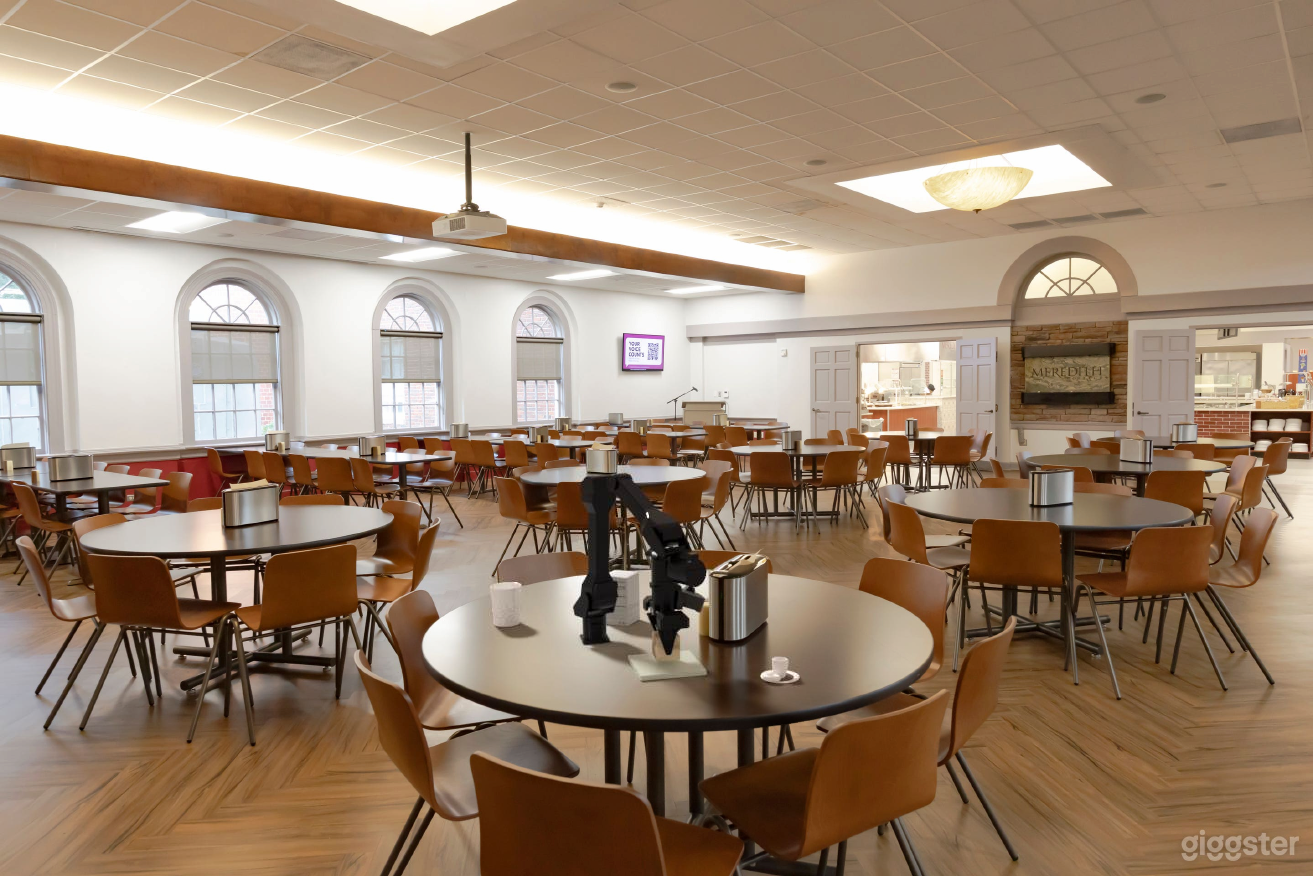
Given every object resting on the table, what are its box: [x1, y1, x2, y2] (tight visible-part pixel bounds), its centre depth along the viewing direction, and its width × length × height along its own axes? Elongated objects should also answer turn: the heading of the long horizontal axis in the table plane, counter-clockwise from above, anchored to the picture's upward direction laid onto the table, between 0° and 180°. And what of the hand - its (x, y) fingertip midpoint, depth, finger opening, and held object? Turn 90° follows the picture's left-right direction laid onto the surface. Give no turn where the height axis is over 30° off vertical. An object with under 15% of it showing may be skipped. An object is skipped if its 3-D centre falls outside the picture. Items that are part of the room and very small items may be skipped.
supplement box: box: [606, 569, 641, 627], centre depth 213 cm, size 7×7×13 cm
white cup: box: [490, 581, 522, 628], centre depth 213 cm, size 8×8×10 cm
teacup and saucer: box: [760, 656, 800, 684], centre depth 170 cm, size 9×8×4 cm
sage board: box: [627, 649, 707, 682], centre depth 177 cm, size 14×14×1 cm
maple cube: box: [651, 630, 681, 661], centre depth 177 cm, size 5×5×5 cm
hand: (665, 651), depth 177 cm, fingers closed on maple cube, 5 cm apart
